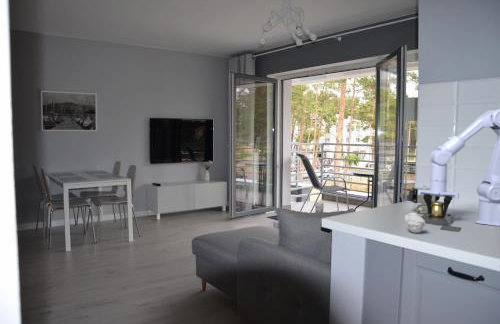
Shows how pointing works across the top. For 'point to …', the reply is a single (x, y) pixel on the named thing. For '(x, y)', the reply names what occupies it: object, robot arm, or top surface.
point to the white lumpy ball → (414, 222)
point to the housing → (438, 219)
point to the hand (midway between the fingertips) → (436, 214)
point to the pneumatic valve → (420, 199)
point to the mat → (450, 228)
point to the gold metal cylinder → (437, 209)
